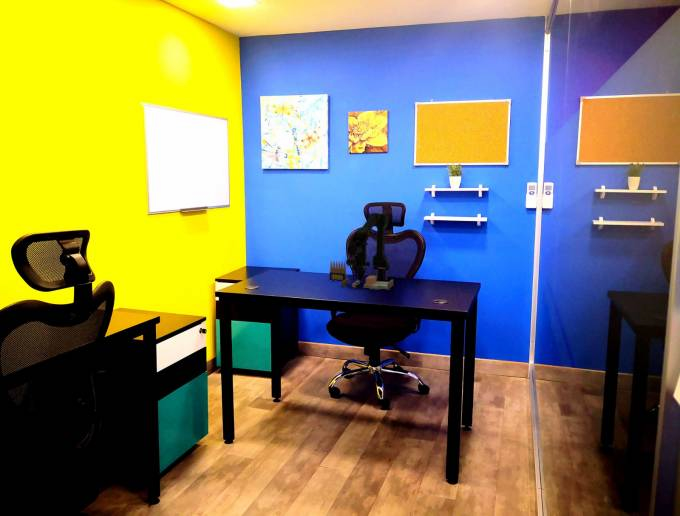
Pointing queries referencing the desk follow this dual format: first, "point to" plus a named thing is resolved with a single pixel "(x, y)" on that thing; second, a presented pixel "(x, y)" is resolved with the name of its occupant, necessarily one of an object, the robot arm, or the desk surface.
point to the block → (371, 280)
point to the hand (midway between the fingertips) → (360, 280)
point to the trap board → (375, 286)
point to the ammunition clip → (337, 271)
